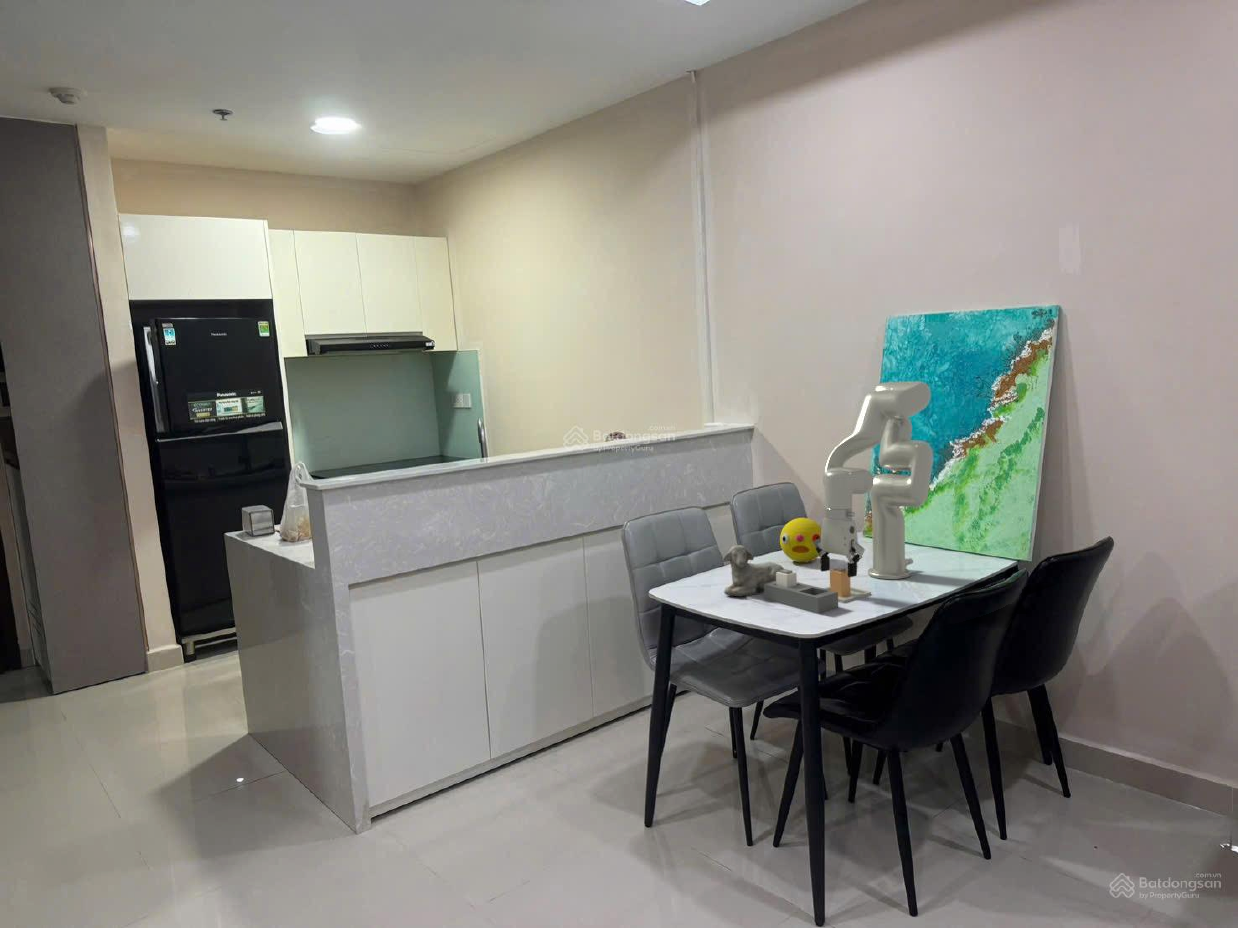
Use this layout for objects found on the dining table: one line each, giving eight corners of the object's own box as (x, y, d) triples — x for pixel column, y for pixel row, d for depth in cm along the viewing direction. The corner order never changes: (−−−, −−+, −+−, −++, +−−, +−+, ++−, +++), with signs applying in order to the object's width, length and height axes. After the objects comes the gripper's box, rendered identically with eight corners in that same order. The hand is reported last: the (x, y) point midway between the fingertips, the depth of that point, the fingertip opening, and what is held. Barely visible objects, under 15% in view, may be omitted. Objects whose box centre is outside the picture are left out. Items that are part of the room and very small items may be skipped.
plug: (839, 591, 237) (838, 566, 237) (850, 594, 234) (850, 568, 233) (830, 594, 235) (829, 568, 234) (841, 597, 232) (840, 570, 231)
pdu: (783, 595, 239) (782, 564, 238) (838, 609, 222) (837, 577, 221) (764, 601, 234) (763, 569, 233) (818, 616, 218) (817, 582, 217)
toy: (777, 567, 271) (775, 523, 269) (783, 556, 286) (782, 513, 285) (823, 569, 266) (822, 523, 264) (827, 557, 282) (826, 514, 280)
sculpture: (719, 595, 243) (717, 545, 241) (772, 582, 254) (770, 534, 252) (743, 603, 233) (742, 551, 232) (797, 589, 245) (796, 540, 243)
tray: (837, 588, 243) (837, 584, 243) (871, 596, 233) (871, 591, 233) (810, 596, 236) (810, 592, 236) (843, 605, 226) (843, 600, 226)
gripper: (872, 516, 227) (872, 576, 229) (823, 509, 241) (823, 566, 243) (854, 519, 223) (854, 580, 224) (806, 512, 237) (806, 570, 238)
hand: (838, 573), depth 233 cm, fingers open, 9 cm apart
